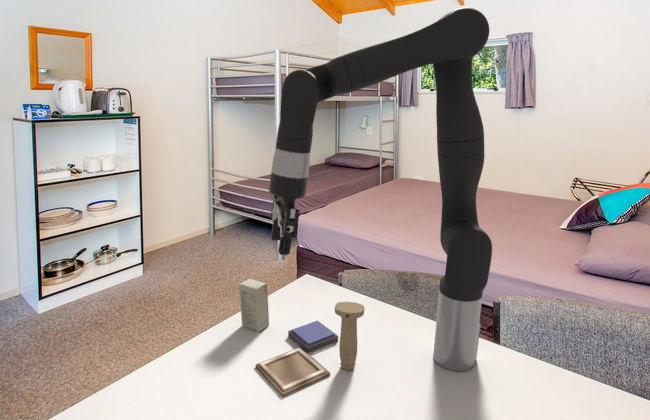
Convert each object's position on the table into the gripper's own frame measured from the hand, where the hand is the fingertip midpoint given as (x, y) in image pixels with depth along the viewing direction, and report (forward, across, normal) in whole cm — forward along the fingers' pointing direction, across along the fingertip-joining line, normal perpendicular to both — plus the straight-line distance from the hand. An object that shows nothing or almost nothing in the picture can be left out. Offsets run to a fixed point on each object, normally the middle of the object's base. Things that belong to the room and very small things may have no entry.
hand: (279, 246), depth 91 cm
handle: (+26, -7, -18) cm, 32 cm away
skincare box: (+29, +16, 0) cm, 33 cm away
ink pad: (+27, +6, -13) cm, 30 cm away
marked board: (+27, -5, -6) cm, 28 cm away
